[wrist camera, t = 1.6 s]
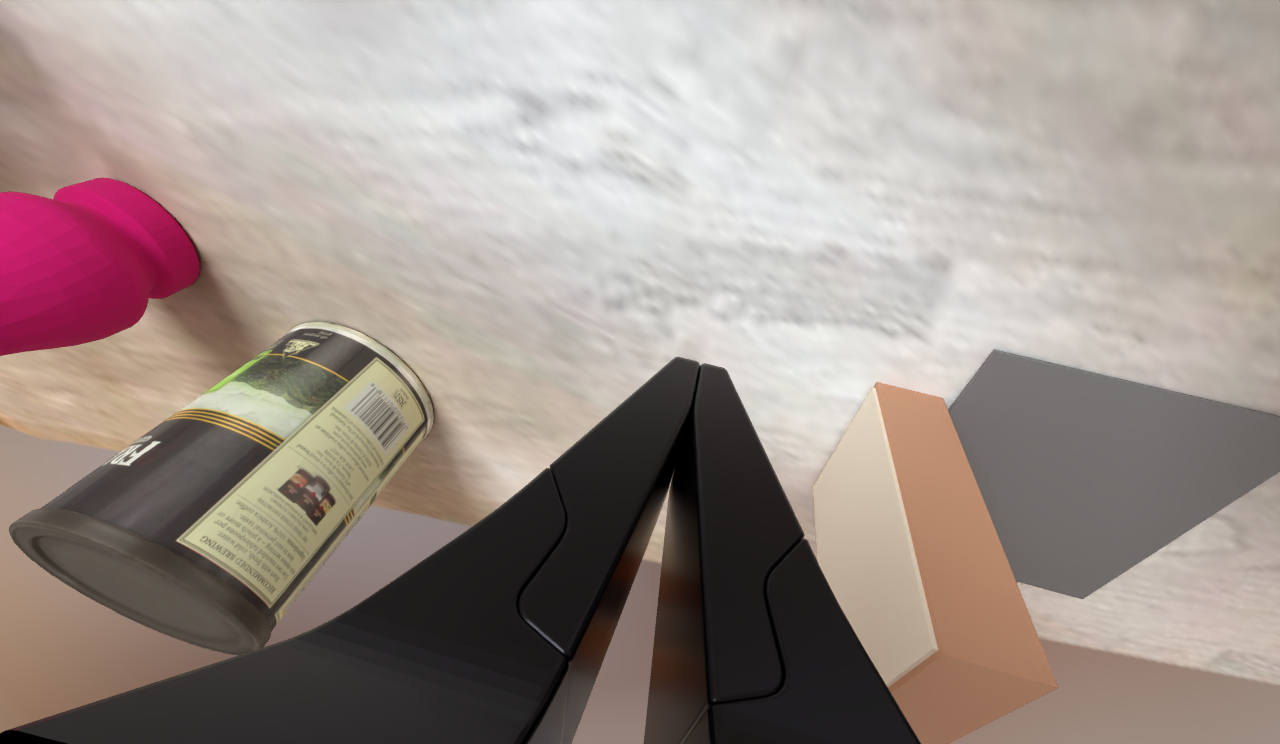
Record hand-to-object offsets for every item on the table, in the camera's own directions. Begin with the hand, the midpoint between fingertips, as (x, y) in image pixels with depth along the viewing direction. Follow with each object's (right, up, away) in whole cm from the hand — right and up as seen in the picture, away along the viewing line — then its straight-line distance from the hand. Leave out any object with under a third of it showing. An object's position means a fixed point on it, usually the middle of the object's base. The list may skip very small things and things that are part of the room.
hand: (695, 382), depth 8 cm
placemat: (+19, -6, +16) cm, 26 cm away
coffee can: (-19, -1, +23) cm, 30 cm away
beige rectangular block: (+11, -4, +17) cm, 20 cm away
